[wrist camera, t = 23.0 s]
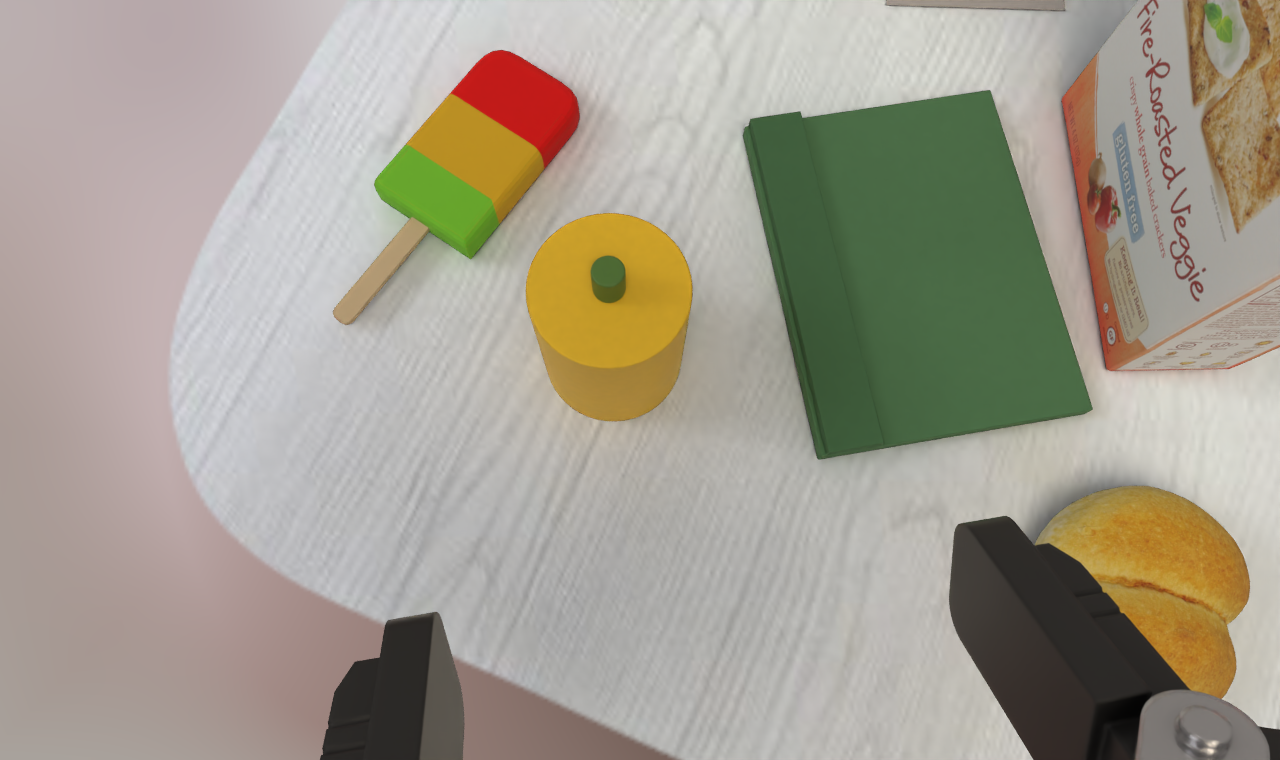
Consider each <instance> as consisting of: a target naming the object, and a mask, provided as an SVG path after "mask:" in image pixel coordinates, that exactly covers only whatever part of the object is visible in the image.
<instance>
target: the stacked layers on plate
mask: <svg viewBox="0 0 1280 760" xmlns="http://www.w3.org/2000/svg"><path fill="white" fill-rule="evenodd" d="M886 1H887V5H901V6H933V7H966V8H999V9H1032V10H1065V4H1064V0H886Z"/></svg>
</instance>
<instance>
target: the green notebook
mask: <svg viewBox="0 0 1280 760" xmlns="http://www.w3.org/2000/svg"><path fill="white" fill-rule="evenodd" d="M743 138H744V143H745V147H746V151H747V155H748V160H749V164H750V168H751V173H752V177H753V181H754V186H755V190H756V194H757V199H758V203H759V207H760V212H761V216H762V220H763V225H764V229H765V233H766V238H767V242H768V246H769V251H770V255H771V259H772V264H773V268H774V272H775V277H776V281H777V285H778V289H779V294H780V298H781V302H782V307H783V311H784V315H785V320H786V324H787V328H788V333H789V337H790V341H791V346H792V350H793V354H794V359H795V363H796V367H797V372H798V376H799V380H800V385H801V389H802V393H803V398H804V402H805V406H806V411H807V415H808V419H809V423H810V428H811V432H812V436H813V441H814V445H815V449H816V454H817V458H818V459H825V458H830V457H836V456H842V455H848V454H854V453H860V452H866V451H871V450H877V449H883V448H889V447H895V446H901V445H906V444H912V443H918V442H924V441H930V440H936V439H941V438H947V437H953V436H959V435H965V434H971V433H976V432H982V431H988V430H994V429H1000V428H1006V427H1012V426H1017V425H1023V424H1029V423H1035V422H1041V421H1047V420H1052V419H1058V418H1064V417H1070V416H1076V415H1082V414H1085V413H1087V412H1089V411H1091V410H1093V408H1092V405H1091V402H1090V399H1089V396H1088V392H1087V389H1086V386H1085V383H1084V380H1083V377H1082V374H1081V371H1080V368H1079V365H1078V361H1077V358H1076V355H1075V352H1074V349H1073V346H1072V343H1071V340H1070V337H1069V333H1068V330H1067V327H1066V324H1065V321H1064V318H1063V315H1062V312H1061V309H1060V306H1059V302H1058V299H1057V296H1056V293H1055V290H1054V287H1053V284H1052V281H1051V278H1050V274H1049V271H1048V268H1047V265H1046V262H1045V259H1044V256H1043V253H1042V250H1041V247H1040V243H1039V240H1038V237H1037V234H1036V231H1035V228H1034V225H1033V222H1032V219H1031V215H1030V212H1029V209H1028V206H1027V203H1026V200H1025V197H1024V194H1023V191H1022V188H1021V184H1020V181H1019V178H1018V175H1017V172H1016V169H1015V166H1014V163H1013V160H1012V157H1011V153H1010V150H1009V147H1008V144H1007V141H1006V138H1005V135H1004V132H1003V129H1002V125H1001V122H1000V119H999V116H998V113H997V110H996V107H995V104H994V101H993V98H992V94H991V91H990V90H987V91H981V92H974V93H967V94H961V95H954V96H947V97H941V98H934V99H927V100H921V101H914V102H907V103H901V104H894V105H887V106H880V107H874V108H867V109H860V110H854V111H847V112H840V113H834V114H827V115H820V116H814V117H807V118H802V116H801V112H794V113H787V114H781V115H774V116H767V117H760V118H754V119H750V124H749V126H747V127H745V129H744V133H743Z"/></svg>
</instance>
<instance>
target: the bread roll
mask: <svg viewBox="0 0 1280 760" xmlns="http://www.w3.org/2000/svg"><path fill="white" fill-rule="evenodd" d="M1045 543H1050V544H1052V545H1053V546H1055V547H1056V548H1058V549H1060V550H1061V551H1063V552H1064V553H1066V554H1068V555H1069V556H1071V557H1073V558H1074V559H1076V560H1077V561H1079V562H1081V563H1082V565H1083V566H1084V567H1085V568H1086V569H1087V570H1088V572H1089V573H1090V574H1091V575H1092V576H1093V577H1094V579H1095V580H1096V581H1097V582H1098V583H1099V584H1100V586H1101V587H1102V591H1103V592H1104V593H1105V592H1106V593H1107V594H1108V595H1109V596H1110V597H1111V598H1112V599H1113V601H1114V602H1115V603H1116V604H1117V605H1118V606H1119V608H1120V612H1121V613H1125V615H1126V616H1127V617H1128V618H1129V619H1130V620H1131V622H1132V623H1133V624H1134V625H1135V626H1136V627H1137V629H1138V630H1139V631H1140V632H1141V633H1142V634H1143V636H1144V637H1145V638H1146V639H1147V640H1148V641H1149V642H1150V644H1151V645H1152V646H1153V647H1154V648H1155V649H1156V651H1157V652H1158V653H1159V654H1160V655H1161V656H1162V658H1163V659H1164V660H1165V661H1166V662H1167V663H1168V665H1169V666H1170V667H1171V668H1172V669H1173V670H1174V672H1175V673H1176V674H1177V675H1178V676H1179V677H1180V678H1181V680H1182V681H1183V682H1184V683H1185V684H1186V685H1187V687H1188V688H1189V689H1190V690H1191V691H1197V692H1202V693H1206V694H1209V695H1212V696H1215V697H1217V698H1220V699H1222V698H1223V696H1224V695H1225V694H1226V693H1227V691H1228V689H1229V687H1230V685H1231V684H1232V682H1233V679H1234V677H1235V672H1236V657H1235V651H1234V647H1233V644H1232V641H1231V638H1230V636H1229V632H1228V628H1227V624H1228V623H1230V622H1231V621H1232V620H1234V619H1235V618H1236V617H1237V616H1238V615H1239V613H1240V612H1241V611H1242V610H1243V608H1244V606H1245V605H1246V604H1247V601H1248V598H1249V592H1250V580H1249V574H1248V570H1247V566H1246V563H1245V560H1244V557H1243V555H1242V553H1241V551H1240V549H1239V547H1238V545H1237V544H1236V542H1235V540H1234V539H1233V538H1232V537H1231V536H1230V534H1229V533H1228V532H1227V531H1226V530H1225V529H1224V528H1223V527H1222V526H1221V525H1220V524H1219V523H1218V522H1217V521H1216V520H1215V519H1214V518H1213V517H1212V516H1210V515H1209V514H1208V513H1207V512H1205V511H1204V510H1203V509H1201V508H1200V507H1198V506H1197V505H1195V504H1194V503H1192V502H1190V501H1189V500H1187V499H1185V498H1183V497H1180V496H1178V495H1176V494H1174V493H1171V492H1168V491H1165V490H1162V489H1159V488H1155V487H1150V486H1123V487H1117V488H1112V489H1106V490H1102V491H1098V492H1095V493H1093V494H1091V495H1088V496H1086V497H1083V498H1081V499H1079V500H1077V501H1075V502H1073V503H1072V504H1071V505H1069V506H1068V507H1066V508H1064V509H1062V510H1061V511H1060V512H1059V513H1058V514H1057V515H1056V516H1055V517H1053V518H1052V520H1051V521H1050V522H1049V523H1048V525H1047V526H1046V527H1045V529H1044V530H1043V531H1042V532H1041V533H1040V535H1039V537H1038V538H1037V541H1036V543H1035V545H1039V544H1045Z"/></svg>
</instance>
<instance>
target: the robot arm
mask: <svg viewBox="0 0 1280 760" xmlns="http://www.w3.org/2000/svg"><path fill="white" fill-rule="evenodd" d="M949 605H950V612H951V616H952V620H953V624H954V627H955V629H956V632H957V634H958V636H959V638H960V640H961V641H962V643H963V645H964V646H965V648H966V650H967V651H968V653H969V655H970V656H971V658H972V659H973V661H974V663H975V664H976V666H977V668H978V669H979V671H980V673H981V674H982V676H983V678H984V679H985V681H986V682H987V684H988V686H989V687H990V689H991V691H992V692H993V694H994V696H995V697H996V699H997V700H998V702H999V704H1000V705H1001V707H1002V709H1003V710H1004V712H1005V714H1006V715H1007V717H1008V718H1009V720H1010V722H1011V723H1012V725H1013V727H1014V728H1015V730H1016V732H1017V733H1018V735H1019V737H1020V738H1021V740H1022V741H1023V743H1024V745H1025V746H1026V748H1027V750H1028V751H1029V753H1030V755H1031V756H1032V758H1033V759H1034V760H1280V730H1279V729H1271V728H1264V727H1259V726H1257V725H1256V723H1255V722H1254V721H1253V720H1252V719H1251V718H1250V717H1248V716H1247V715H1246V714H1245V713H1244V712H1242V711H1241V710H1240V709H1238V708H1237V707H1235V706H1233V705H1232V704H1230V703H1228V702H1226V701H1224V700H1222V699H1220V698H1217V697H1215V696H1212V695H1209V694H1206V693H1202V692H1197V691H1191V690H1190V689H1189V688H1188V687H1187V685H1186V684H1185V683H1184V682H1183V681H1182V680H1181V678H1180V677H1179V676H1178V675H1177V674H1176V673H1175V672H1174V670H1173V669H1172V668H1171V667H1170V666H1169V665H1168V663H1167V662H1166V661H1165V660H1164V659H1163V658H1162V656H1161V655H1160V654H1159V653H1158V652H1157V651H1156V649H1155V648H1154V647H1153V646H1152V645H1151V644H1150V642H1149V641H1148V640H1147V639H1146V638H1145V637H1144V636H1143V634H1142V633H1141V632H1140V631H1139V630H1138V629H1137V627H1136V626H1135V625H1134V624H1133V623H1132V622H1131V620H1130V619H1129V618H1128V617H1127V616H1126V615H1125V613H1121V612H1120V608H1119V606H1118V605H1117V604H1116V603H1115V602H1114V601H1113V599H1112V598H1111V597H1110V596H1109V595H1108V594H1107V593H1106V592H1105V593H1104V592H1103V591H1102V587H1101V586H1100V584H1099V583H1098V582H1097V581H1096V580H1095V579H1094V577H1093V576H1092V575H1091V574H1090V573H1089V572H1088V570H1087V569H1086V568H1085V567H1084V566H1083V565H1082V563H1081V562H1079V561H1077V560H1076V559H1074V558H1073V557H1071V556H1069V555H1068V554H1066V553H1064V552H1063V551H1061V550H1060V549H1058V548H1056V547H1055V546H1053V545H1052V544H1050V543H1045V544H1039V545H1033V544H1032V542H1031V541H1030V540H1029V539H1028V537H1027V536H1026V535H1025V534H1024V533H1023V531H1022V530H1021V529H1020V528H1019V526H1018V525H1017V524H1016V523H1015V522H1014V521H1013V520H1012V519H1011V518H1010V517H1007V516H1002V517H996V518H990V519H984V520H978V521H973V522H967V523H961V524H958V525H957V527H956V529H955V532H954V542H953V554H952V567H951V580H950V592H949ZM328 725H329V727H328V729H327V730H326V735H325V739H324V744H323V748H322V749H323V755H321V758H320V760H463V740H464V707H463V698H462V692H461V686H460V682H459V678H458V675H457V672H456V668H455V665H454V661H453V657H452V654H451V650H450V647H449V643H448V640H447V636H446V633H445V630H444V626H443V623H442V619H441V617H440V615H439V613H438V612H432V613H427V614H421V615H415V616H409V617H403V618H397V619H392V620H388V621H387V623H386V625H385V629H384V635H383V642H382V647H381V653H380V658H374V659H369V660H363V661H357V662H355V663H354V664H353V665H352V667H351V668H350V670H349V671H348V673H347V674H346V676H345V677H344V679H343V680H342V682H341V683H340V685H339V686H338V688H337V689H336V691H335V693H334V697H333V702H332V707H331V712H330V716H329V721H328Z"/></svg>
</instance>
